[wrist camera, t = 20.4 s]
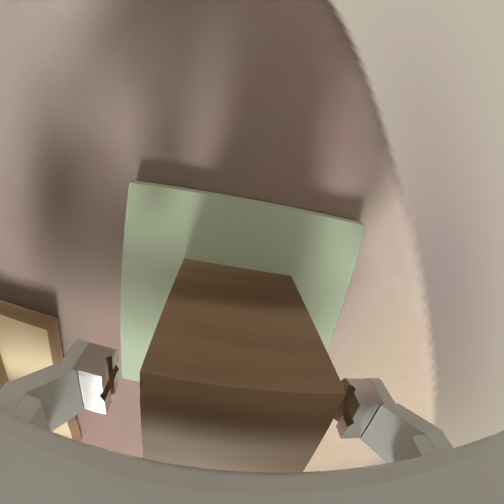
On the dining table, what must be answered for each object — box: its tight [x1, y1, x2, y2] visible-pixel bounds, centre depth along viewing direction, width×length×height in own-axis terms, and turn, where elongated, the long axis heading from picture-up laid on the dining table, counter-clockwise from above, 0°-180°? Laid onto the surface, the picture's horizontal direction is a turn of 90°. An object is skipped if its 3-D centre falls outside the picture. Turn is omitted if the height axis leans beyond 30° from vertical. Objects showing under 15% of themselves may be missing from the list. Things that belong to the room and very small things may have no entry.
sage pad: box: [120, 181, 366, 382], centre depth 16 cm, size 11×11×1 cm
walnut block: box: [140, 258, 346, 473], centre depth 11 cm, size 5×5×8 cm
